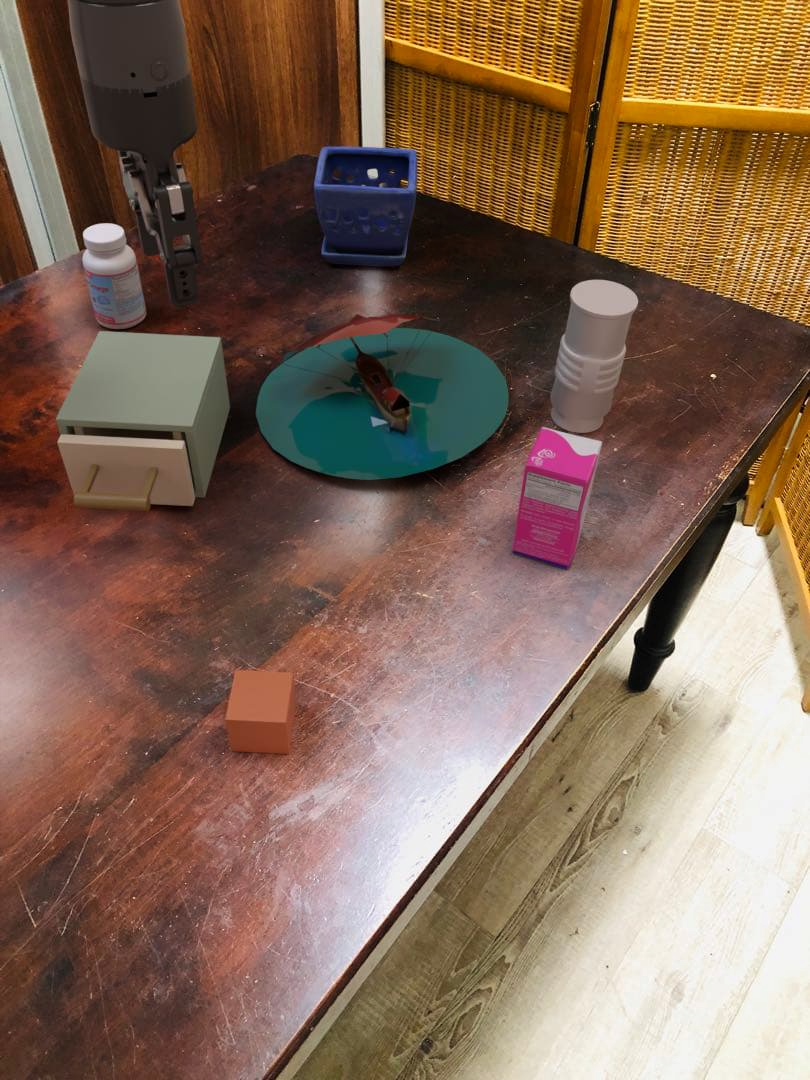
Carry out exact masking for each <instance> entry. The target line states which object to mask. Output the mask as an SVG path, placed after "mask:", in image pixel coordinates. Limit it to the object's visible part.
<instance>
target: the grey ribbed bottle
mask: <svg viewBox="0 0 810 1080" xmlns="http://www.w3.org/2000/svg"><path fill="white" fill-rule="evenodd" d="M569 301H570V307H569V311H568V316H567V321H566V326H565V332H564V333H563V335H562V336H561V338H560V342H559V348H558V351H557V358H556V363H555V364H556V365H555V368H554V377H555V379H554V382H553V385H552V388H551V393H550V395H549V401H550V403H551V406H552V408H551V411H550V416H551V419H552V421H553V422H554V423H555V424H556V425H557V426H559V427H560V428H562V429H563V430H566V431H568V432H572V433H578V434H585V433H591V432H595V431H597V430H599V429H600V428H602V427H601V426H603V424H604V417H605V416H606V415H608V414H609V412H610V411H611V408H612V405H613V404H612V403H613V397H614V391H615V388H616V387H617V385H618V384H619V380H620V376H621V372H622V367H623V364H624V360H625V357H626V353H627V346H626V340H627V336H628V333H629V328H630V325H631V321H632V318H633V314H634V313H635V311H637V308H638V304H639V299H638V296H637V295H636V293H635V292H634V291H633V290H632V289H630V288H629V287H627V286H626V285H623V284H621V283H618V282H616V281H612V280H607V279H589V280H584V281H580V282H578V283H577V284H575V285H574V286H573V287H572V288H571V291H570V293H569Z"/></svg>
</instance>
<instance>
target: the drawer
mask: <svg viewBox="0 0 810 1080" xmlns="http://www.w3.org/2000/svg"><path fill="white" fill-rule="evenodd" d="M74 430H75V433H76V435H66V434H61V435H60V434H59V435H60V436H59V438H58V439H57V442H56V443H57V447H58V449H59V452H60V455H61V459H62V462H63V465H64V468H65V471H66V474H67V477H68V481H69V484H70V487H71V490H72V494H73V500H72V501H73V506H74V507H75V508H78V509H79V508H80V509H100V510H115V511H116V510H117V511H135V512H137V511H139V512H149V511H150V509H151V505H162V506H163V505H164V506H166V505H167V506H181V507H182V506H183V507H193V506H194V504H195V500H196V497H195V494H194V489H193V483H192V480H193V473H192V468H191V462H190V457H189V451H188V446H187V440H186V435H185V432H174V431H154V430H135V429H116V428H97V427H78V426H74Z"/></svg>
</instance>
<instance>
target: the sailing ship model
mask: <svg viewBox="0 0 810 1080" xmlns="http://www.w3.org/2000/svg"><path fill="white" fill-rule="evenodd" d="M417 319H419V320H423V322H422V324H421V327H420V328H408V327H397V326H399V325H401V324H403V323H406V322H410V321H414V320H417ZM426 320H427V321H428V320H429V321H433V322H437V323H435V325H434V326H433V329H432V330H428V329H422V327H423V326H424V323H425V321H426ZM440 322H441V319H437V318H431V317H426V316H423V315H415V314H414V315H413V314H398V313H395V314H394V313H390V314H381V315H373V316H368V317H365V316H363V315H360V314H357V313H356V314H355V315H354V316H353V317H352V318H351V319H350V320H349V321H348V322H346V323H340V324H337V325H336V326H333V327H331V328H327V329H325V330H323V331H320V332H318V333H316V334H314V335H312V336H310V337H308V338H305V339H304V340H303V341H302V342H300V343H299V344H298V345H296V346H295V347H294V348H292V349H291V350H290V351H288V352H286V353H285V355H284V356H283V358H282V360H281V361H280V362H279V363H278V366H277V367H276V368H274V369H273V370H272V371H271V372H270V373H269V375H268V376H267V377H266V379H265V380H264V382H263V384H262V385H261V387H260V390H259V393H258V396H257V402H256V407H255V417H256V420H257V423H258V427H259V430H260V433H261V434H262V435H263V437H264V439H266V441H267V443H268V444H269V445H270V446H271V448H272V449H273V450H274V451H276V452H277V453H279V454H280V455H281V456H283V457H284V458H286V459H287V460H288V461H290V462H292V463H294V464H297V465H299V466H301V467H304V468H305V469H310V470H312V471H315V472H318V473H321V474H325V475H328V476H333V477H338V478H344V479H350V480H365V481H372V480H384V479H393V478H402V477H406V476H410V475H414V474H415V475H416V474H419V473H422V472H426V471H431V470H434V469H436V468H437V469H438V468H439V467H442V466H444V465H446V464H449V463H452V462H454V461H457V460H459V459H461V458H463V457H465V456H466V455H468V454H469V453H471V452H472V451H474V450H476V449H477V448H478V447H479V446H481V445H483V444H484V443H485V442H486V441H487V440H488V439H489V438H490V437H491V436H493V434H494V433H496V431H497V429H498V428H499V427H500V426H501V425H502V423H503V421H504V419H505V417H506V414H507V411H508V408H509V398H510V397H509V396H510V394H509V388H508V384H507V379H506V377H505V376H504V374H503V373H502V371H501V370H500V368H499V367H498V366H497V364H496V363H495V362H494V361H493V360H492V359H491V358H490V357H489V356H487V354H485V353H484V352H483V351H482V350H481V349H479V348H477V347H475V346H473V345H471V344H469V343H467V342H466V341H463V340H461V339H458V338H456V337H453V336H451V335H448V334H444V333H440V332H437V331H434V329H435V328H436V326H437V325H438V323H440ZM299 350H301V351H299ZM298 351H299V352H298ZM297 352H298V353H297Z"/></svg>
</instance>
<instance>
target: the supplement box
mask: <svg viewBox="0 0 810 1080" xmlns="http://www.w3.org/2000/svg"><path fill="white" fill-rule="evenodd" d="M602 446H603V441H601V440H597V439H593V438H589V437H584V436H580V435H576V434H571V433H567V432H564V431H560V430H556V429H553V428H548V427H545V426H542V427H541V429H540V431H539V434H538V435H537V437H536V440H535V442H534V444H533V446H532V448H531V451H530V452H529V453H530V454H529V455H528V458H527V460H526V462H525V465H524V470H523V471H524V472H523V478H522V485H521V491H520V498H519V504H518V510H517V517H516V523H515V529H514V530H515V531H514V537H513V543H512V548H511V549H512V550H511V553H512V554H514V555H517V556H521V557H524V558H529V559H531V560H535V561H537V562H541V563H545V564H547V565H551V566H554V567H558V568H561V569H563V570H567V571H568V570H570V568H571V565H572V563H573V561H574V558H575V555H576V552H577V550H578V547H579V544H580V541H581V537H582V534H583V531H584V524H585V520H586V515H587V511H588V507H589V502H590V499H591V494H592V490H593V485H594V481H595V477H596V472H597V469H598V468H597V467H598V463H599V459H600V454H601V450H602Z"/></svg>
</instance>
